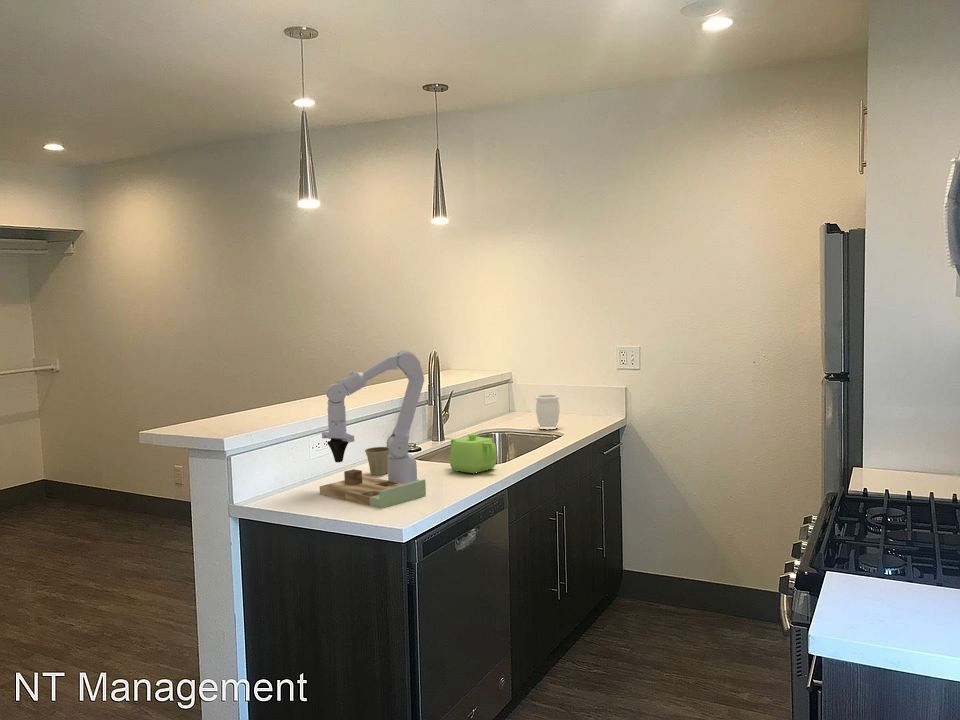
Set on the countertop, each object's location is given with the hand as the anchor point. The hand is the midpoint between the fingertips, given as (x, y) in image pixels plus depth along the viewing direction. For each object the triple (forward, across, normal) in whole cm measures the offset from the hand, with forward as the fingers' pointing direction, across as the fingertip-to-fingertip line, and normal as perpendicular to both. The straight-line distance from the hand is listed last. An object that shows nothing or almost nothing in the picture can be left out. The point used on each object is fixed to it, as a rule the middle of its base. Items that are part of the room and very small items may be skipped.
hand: (338, 461), depth 265 cm
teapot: (+9, +19, +46) cm, 51 cm away
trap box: (+9, +16, 0) cm, 18 cm away
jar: (+9, -11, +127) cm, 128 cm away
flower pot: (+9, -6, +22) cm, 25 cm away
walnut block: (+6, +7, 0) cm, 9 cm away
